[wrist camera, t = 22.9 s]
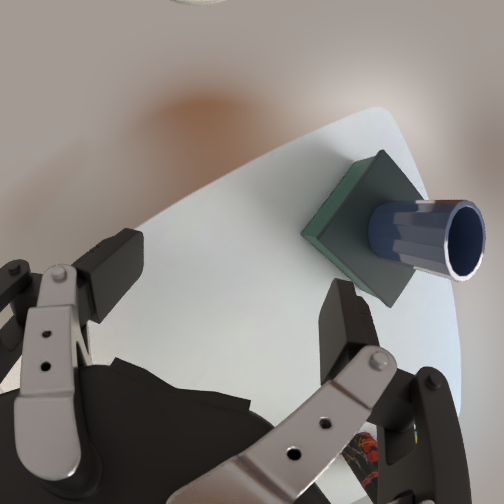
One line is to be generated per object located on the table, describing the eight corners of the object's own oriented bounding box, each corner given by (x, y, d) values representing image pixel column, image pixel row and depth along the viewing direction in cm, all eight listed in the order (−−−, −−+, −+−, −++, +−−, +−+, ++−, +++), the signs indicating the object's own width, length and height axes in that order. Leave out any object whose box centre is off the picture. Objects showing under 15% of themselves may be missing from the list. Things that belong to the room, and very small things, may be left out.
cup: (364, 259, 25) (438, 282, 15) (369, 197, 24) (447, 193, 15) (408, 261, 26) (480, 281, 16) (413, 206, 25) (487, 207, 16)
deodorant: (334, 453, 36) (370, 513, 22) (356, 430, 36) (401, 489, 21) (355, 456, 37) (392, 510, 23) (376, 434, 37) (420, 486, 23)
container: (296, 234, 30) (318, 239, 24) (354, 158, 30) (383, 149, 24) (362, 294, 32) (390, 308, 26) (410, 222, 32) (441, 224, 27)
